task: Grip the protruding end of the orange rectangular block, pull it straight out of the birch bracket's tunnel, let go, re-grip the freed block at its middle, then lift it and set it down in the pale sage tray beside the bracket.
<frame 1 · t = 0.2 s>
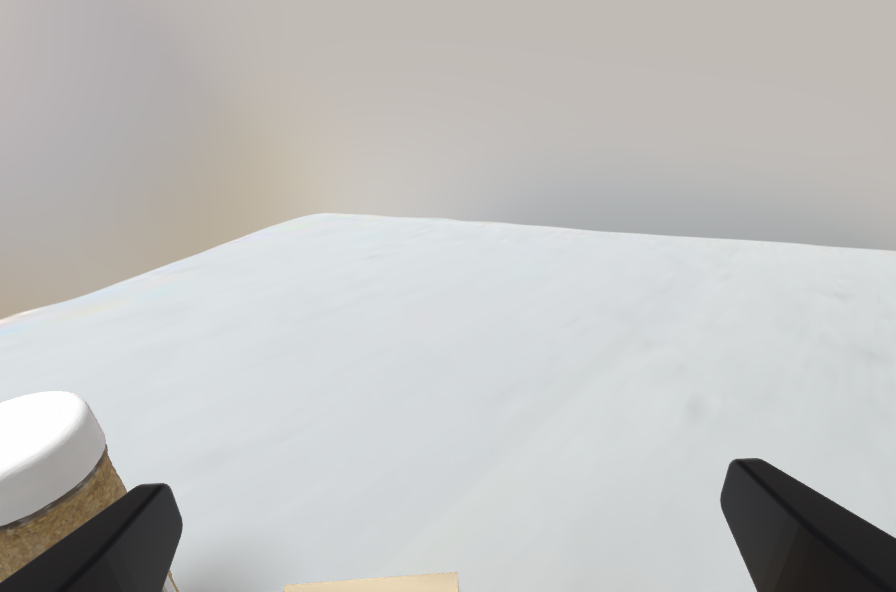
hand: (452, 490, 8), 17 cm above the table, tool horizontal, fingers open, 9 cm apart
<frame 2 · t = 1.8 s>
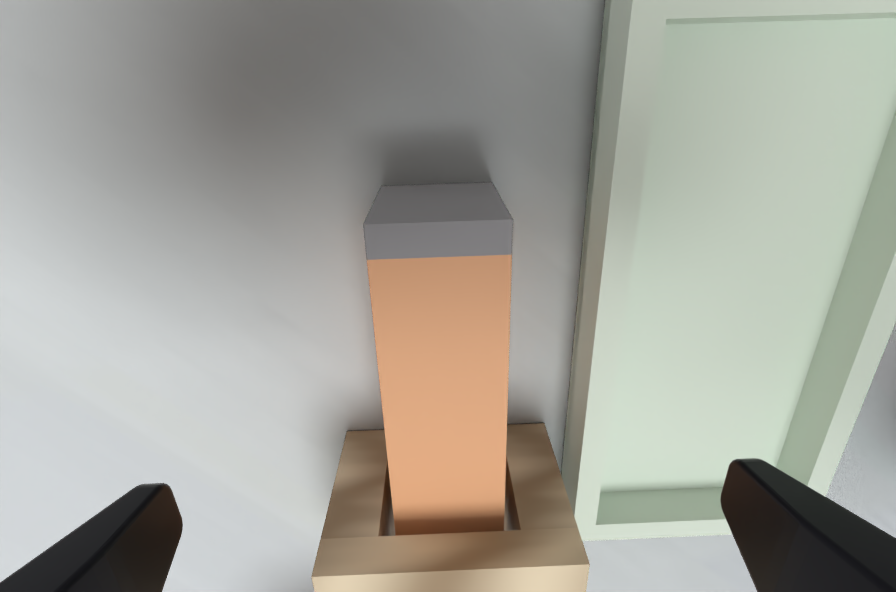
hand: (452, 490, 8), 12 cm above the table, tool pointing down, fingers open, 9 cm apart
tray: (711, 298, 20), on the table
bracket: (447, 476, 23), on the table
orange rectangular block: (443, 350, 20), on the table
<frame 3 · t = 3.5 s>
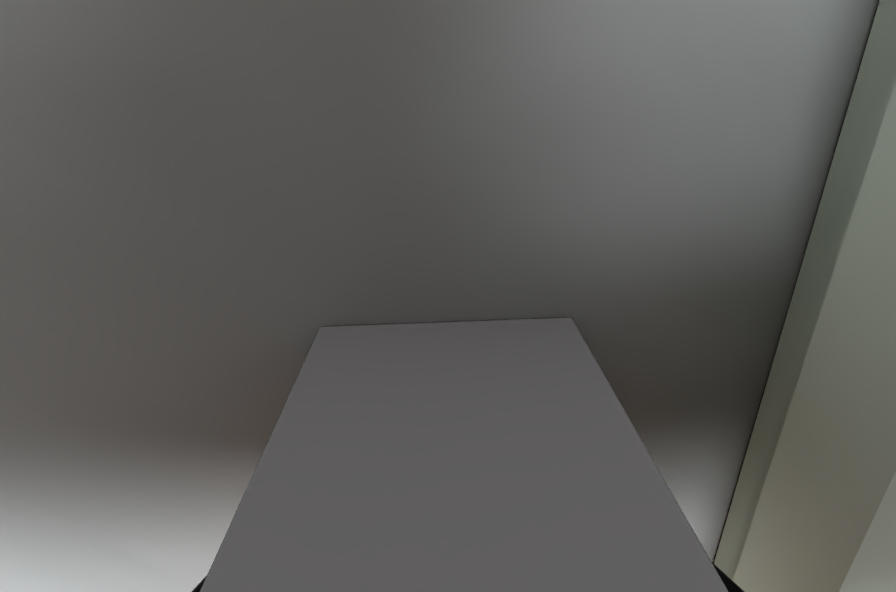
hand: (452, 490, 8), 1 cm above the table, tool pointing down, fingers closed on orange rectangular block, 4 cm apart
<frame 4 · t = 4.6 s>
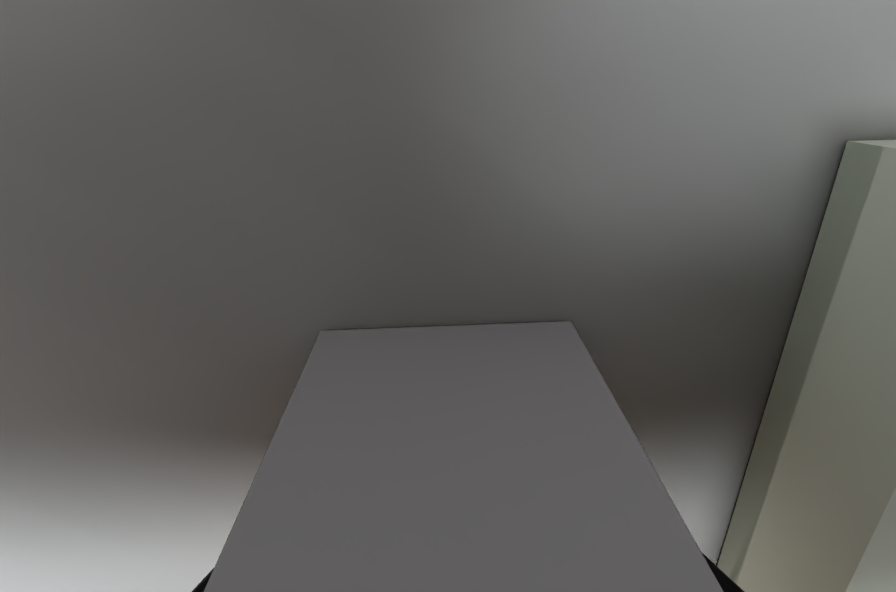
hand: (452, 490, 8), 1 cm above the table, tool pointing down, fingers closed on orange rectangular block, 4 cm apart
when the fingers open (1 cm above the table, at t = 5.7 s): orange rectangular block stays where it is, on the table.
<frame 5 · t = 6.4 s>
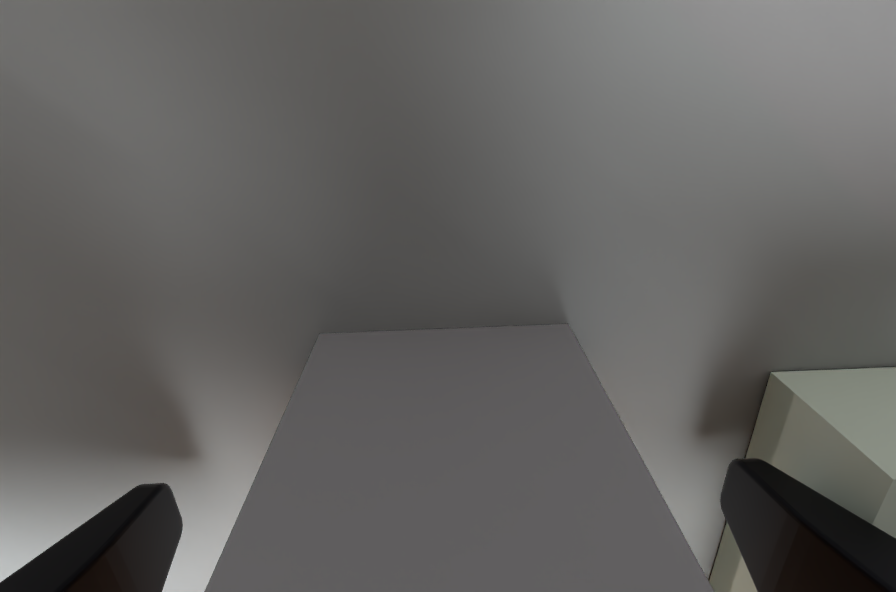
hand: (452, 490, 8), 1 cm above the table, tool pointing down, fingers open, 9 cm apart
when the fingers open (3 cm above the table, at t = 13.4 s): orange rectangular block drops 2 cm, resting on tray.
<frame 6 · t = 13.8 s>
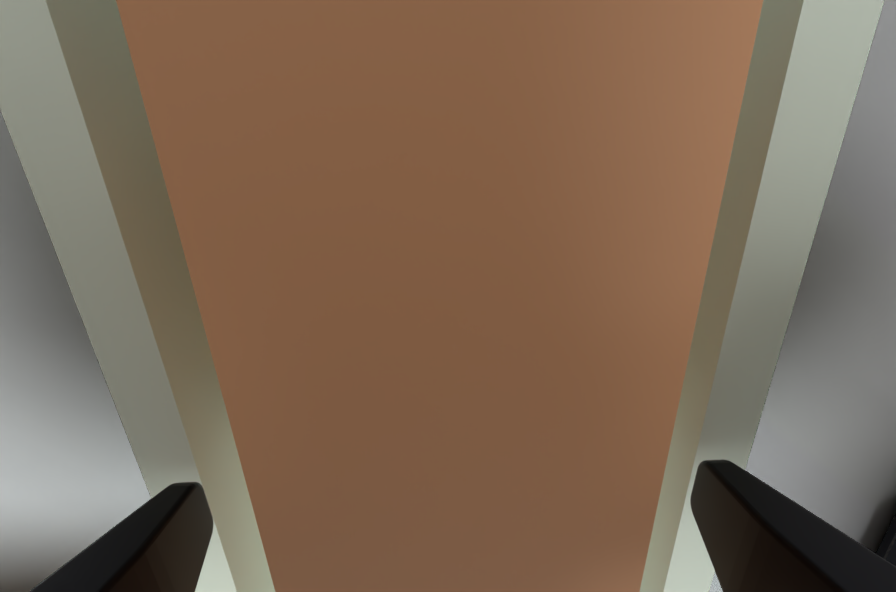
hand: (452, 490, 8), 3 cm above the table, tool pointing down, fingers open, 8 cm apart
tray: (445, 374, 11), on the table
orange rectangular block: (447, 357, 10), point 1 cm above the table, touching tray
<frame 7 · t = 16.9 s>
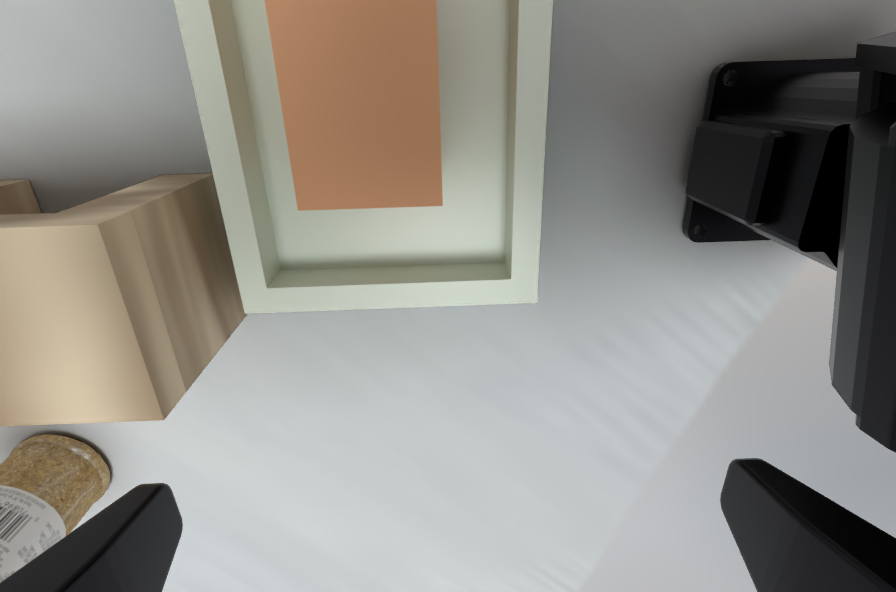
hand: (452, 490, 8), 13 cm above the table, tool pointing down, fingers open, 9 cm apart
sprinkles bottle: (70, 463, 24), on the table
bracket: (120, 252, 19), on the table
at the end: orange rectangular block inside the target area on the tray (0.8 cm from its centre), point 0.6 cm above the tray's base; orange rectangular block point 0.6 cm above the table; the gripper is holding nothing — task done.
